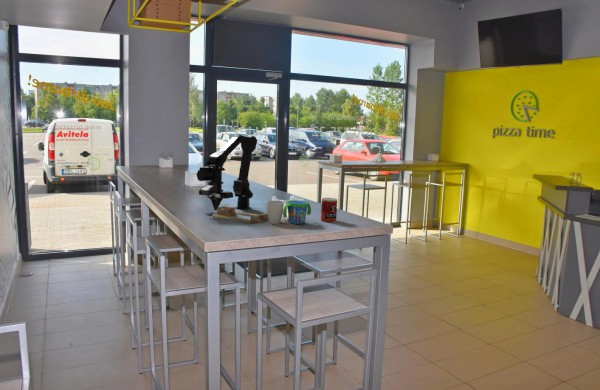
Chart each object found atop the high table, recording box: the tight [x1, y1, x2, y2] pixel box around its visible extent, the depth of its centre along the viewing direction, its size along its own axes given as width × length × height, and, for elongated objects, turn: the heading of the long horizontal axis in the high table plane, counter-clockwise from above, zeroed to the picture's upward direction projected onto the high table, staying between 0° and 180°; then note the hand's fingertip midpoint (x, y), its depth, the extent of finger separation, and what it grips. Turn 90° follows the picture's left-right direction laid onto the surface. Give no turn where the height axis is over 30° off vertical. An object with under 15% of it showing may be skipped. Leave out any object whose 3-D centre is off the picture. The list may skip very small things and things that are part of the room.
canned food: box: [320, 197, 338, 223], centre depth 239 cm, size 8×8×11 cm
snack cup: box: [282, 199, 312, 225], centre depth 231 cm, size 16×10×10 cm
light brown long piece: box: [211, 210, 269, 224], centre depth 239 cm, size 14×25×3 cm, turn 58°
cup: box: [266, 200, 285, 225], centre depth 230 cm, size 8×8×10 cm
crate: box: [216, 205, 236, 217], centre depth 244 cm, size 7×6×4 cm
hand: (215, 210), depth 248 cm, fingers closed
